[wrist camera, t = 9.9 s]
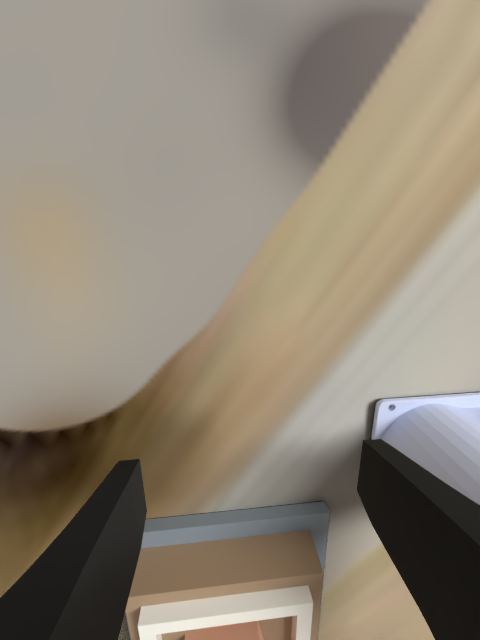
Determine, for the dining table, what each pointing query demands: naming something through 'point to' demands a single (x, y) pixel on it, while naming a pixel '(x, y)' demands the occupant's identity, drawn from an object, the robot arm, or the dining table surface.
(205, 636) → the terracotta cube
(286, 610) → the build base
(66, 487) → the dining table surface
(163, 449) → the dining table surface
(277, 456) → the dining table surface
